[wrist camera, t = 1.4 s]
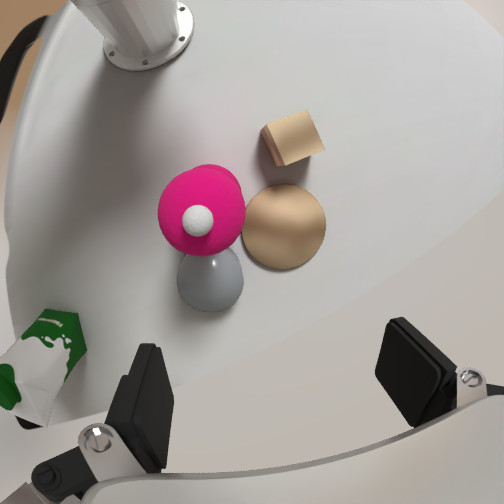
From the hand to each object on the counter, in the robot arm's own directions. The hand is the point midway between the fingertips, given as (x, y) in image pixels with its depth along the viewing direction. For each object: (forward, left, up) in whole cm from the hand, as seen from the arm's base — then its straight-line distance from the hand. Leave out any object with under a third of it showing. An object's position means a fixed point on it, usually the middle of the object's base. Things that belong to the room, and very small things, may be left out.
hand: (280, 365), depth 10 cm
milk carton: (+13, -30, -26) cm, 42 cm away
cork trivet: (0, +6, -26) cm, 27 cm away
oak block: (-11, +7, -26) cm, 29 cm away
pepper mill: (-5, -3, -26) cm, 27 cm away
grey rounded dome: (+5, -4, -26) cm, 27 cm away
